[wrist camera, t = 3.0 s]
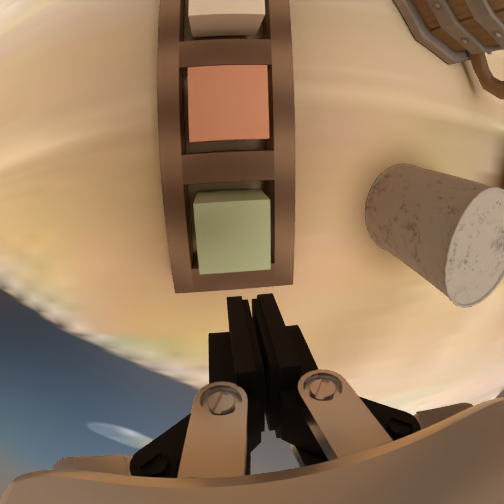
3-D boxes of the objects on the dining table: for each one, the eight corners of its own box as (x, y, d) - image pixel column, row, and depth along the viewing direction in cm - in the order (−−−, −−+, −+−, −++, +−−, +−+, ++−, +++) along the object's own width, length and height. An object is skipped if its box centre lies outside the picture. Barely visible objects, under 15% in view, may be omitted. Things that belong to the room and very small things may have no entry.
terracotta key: (192, 81, 19) (187, 67, 15) (257, 79, 20) (267, 65, 16) (194, 142, 21) (189, 142, 17) (258, 139, 22) (269, 138, 18)
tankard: (374, -26, 18) (456, -82, 4) (439, -26, 17) (515, -55, 3) (450, 131, 25) (559, 148, 11) (499, 106, 24) (586, 117, 10)
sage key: (197, 192, 23) (193, 204, 19) (259, 188, 23) (270, 199, 19) (201, 251, 25) (199, 274, 20) (260, 247, 25) (270, 269, 21)
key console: (168, -20, 17) (164, -38, 13) (277, -23, 18) (285, -40, 14) (179, 275, 27) (175, 293, 24) (283, 267, 28) (292, 284, 25)
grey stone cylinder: (410, 263, 30) (480, 318, 19) (349, 231, 28) (423, 288, 16) (445, 190, 28) (527, 222, 16) (389, 146, 25) (483, 161, 14)
